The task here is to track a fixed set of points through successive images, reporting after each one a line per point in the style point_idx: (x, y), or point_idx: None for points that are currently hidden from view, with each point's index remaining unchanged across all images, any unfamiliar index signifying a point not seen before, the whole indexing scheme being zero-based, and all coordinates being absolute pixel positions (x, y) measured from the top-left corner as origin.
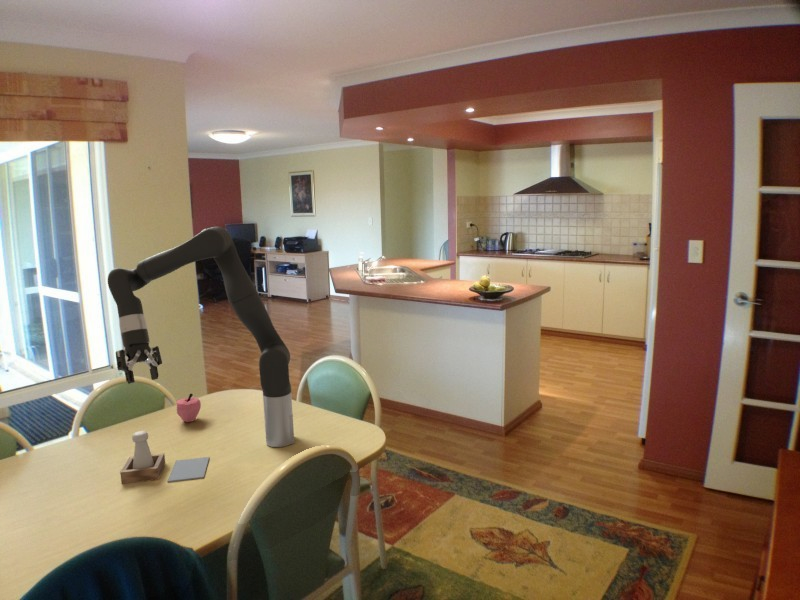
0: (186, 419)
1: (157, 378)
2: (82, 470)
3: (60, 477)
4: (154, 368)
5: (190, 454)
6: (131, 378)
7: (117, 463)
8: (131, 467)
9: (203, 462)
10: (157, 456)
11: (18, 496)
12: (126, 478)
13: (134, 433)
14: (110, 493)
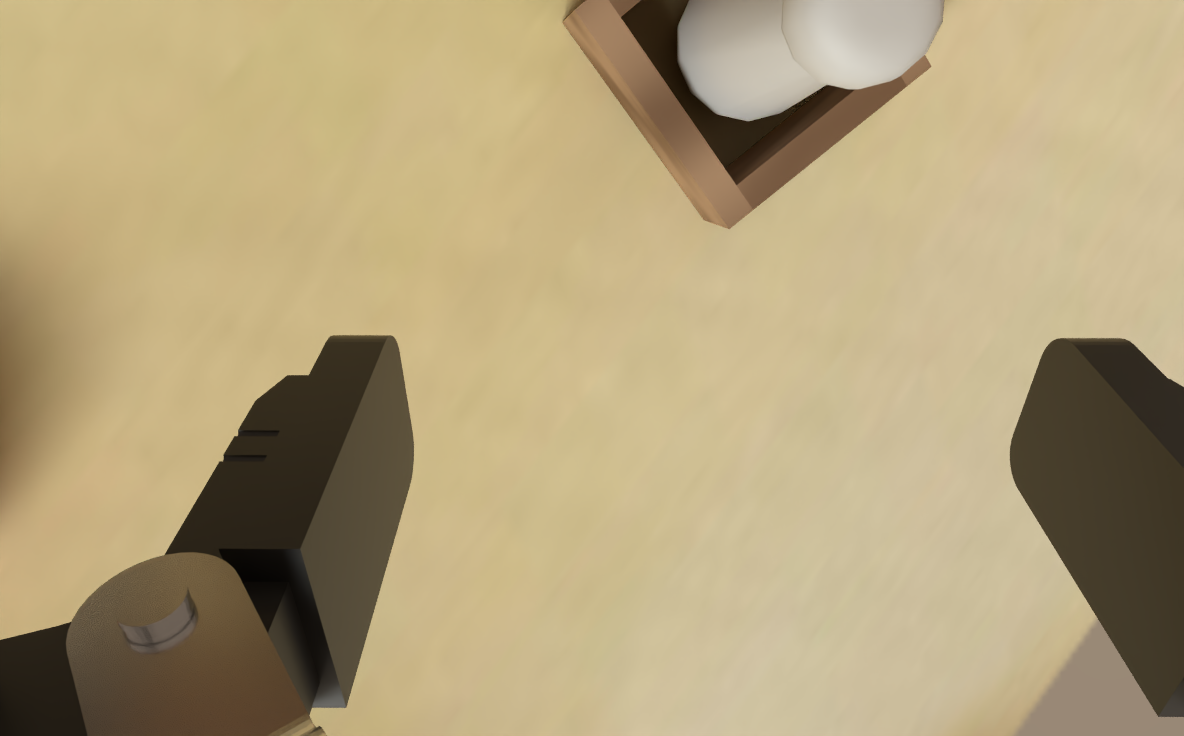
0: None
1: (345, 339)
2: (837, 469)
3: (936, 499)
4: (312, 519)
5: None
6: (1169, 407)
7: (694, 359)
8: (762, 149)
9: None
10: (628, 31)
11: None
12: None
13: (905, 52)
14: (996, 29)
